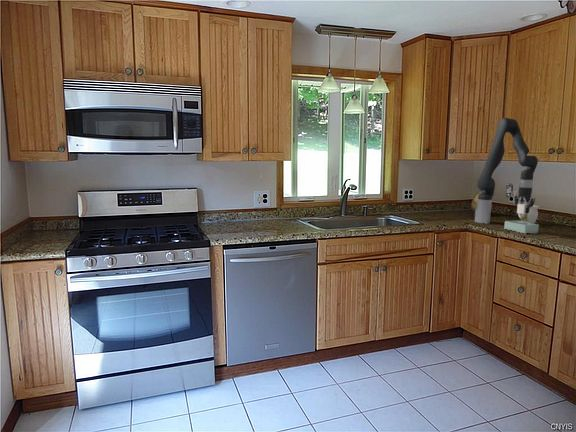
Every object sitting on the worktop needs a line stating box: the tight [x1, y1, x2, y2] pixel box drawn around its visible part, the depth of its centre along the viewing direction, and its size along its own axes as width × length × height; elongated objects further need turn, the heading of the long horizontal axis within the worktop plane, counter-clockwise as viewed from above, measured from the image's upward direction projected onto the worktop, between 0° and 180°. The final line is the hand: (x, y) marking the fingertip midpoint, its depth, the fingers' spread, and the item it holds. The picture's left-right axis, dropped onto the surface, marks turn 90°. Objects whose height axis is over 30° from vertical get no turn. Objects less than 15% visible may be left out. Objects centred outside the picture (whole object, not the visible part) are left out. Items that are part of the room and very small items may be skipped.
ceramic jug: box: [470, 189, 493, 216], centre depth 332 cm, size 17×15×30 cm
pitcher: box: [517, 204, 541, 224], centre depth 297 cm, size 11×18×14 cm, turn 14°
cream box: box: [516, 203, 530, 214], centre depth 265 cm, size 5×5×6 cm
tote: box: [503, 220, 540, 235], centre depth 267 cm, size 16×12×6 cm
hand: (523, 212), depth 265 cm, fingers closed on cream box, 5 cm apart
